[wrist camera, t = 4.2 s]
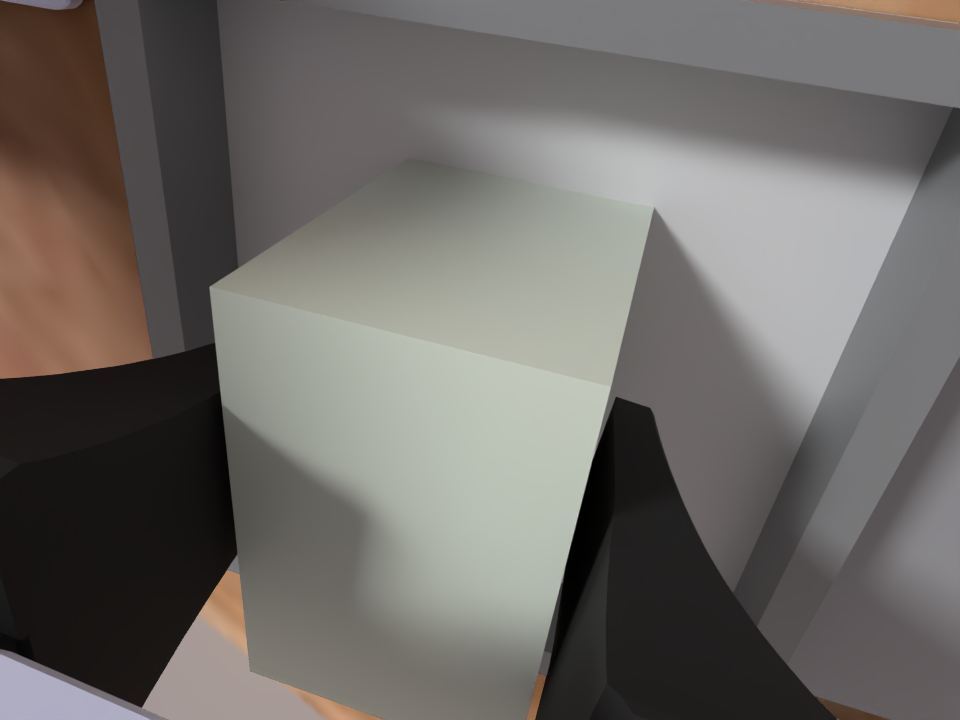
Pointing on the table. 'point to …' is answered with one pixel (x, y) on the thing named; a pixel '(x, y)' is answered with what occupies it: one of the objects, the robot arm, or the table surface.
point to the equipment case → (666, 257)
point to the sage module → (420, 432)
